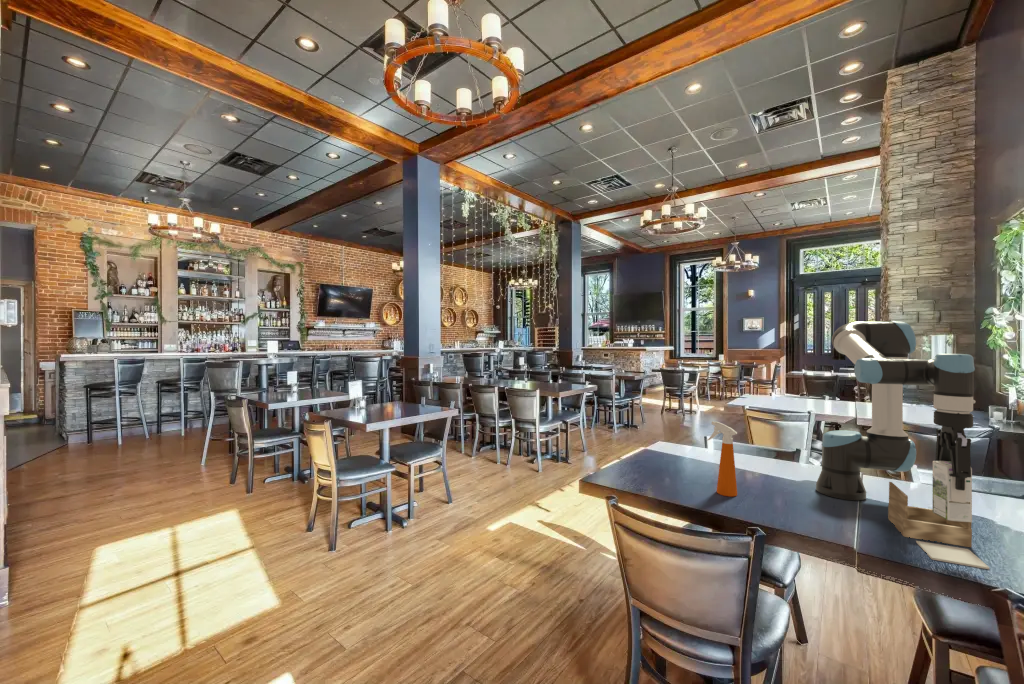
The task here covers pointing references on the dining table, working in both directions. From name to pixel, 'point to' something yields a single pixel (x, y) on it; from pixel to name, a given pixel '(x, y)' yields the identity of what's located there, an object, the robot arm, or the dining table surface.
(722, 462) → the spray bottle
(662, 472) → the dining table surface
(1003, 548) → the dining table surface
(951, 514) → the syrup box
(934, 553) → the mat
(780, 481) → the dining table surface
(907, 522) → the wooden holder
